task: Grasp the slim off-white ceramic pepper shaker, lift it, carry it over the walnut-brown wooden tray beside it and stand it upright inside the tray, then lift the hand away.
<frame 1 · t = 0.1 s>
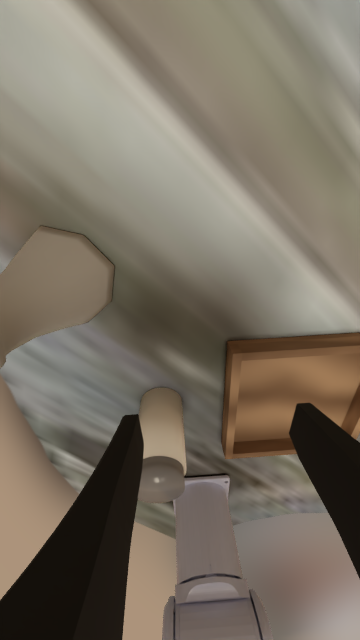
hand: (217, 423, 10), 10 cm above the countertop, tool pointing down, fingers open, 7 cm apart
tray: (291, 394, 23), on the countertop
pepper shaker: (161, 403, 23), on the countertop
flask: (69, 277, 17), on the countertop
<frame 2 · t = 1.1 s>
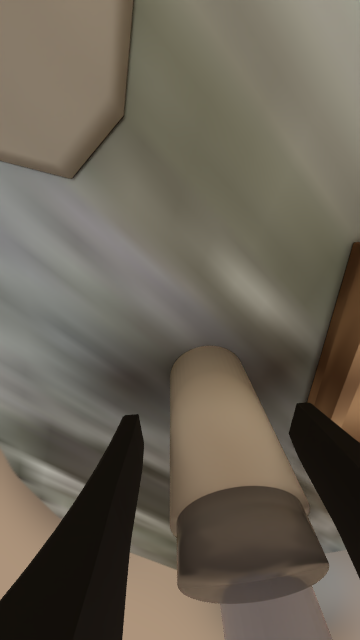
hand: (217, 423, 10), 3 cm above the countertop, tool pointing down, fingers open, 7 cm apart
pepper shaker: (206, 376, 13), on the countertop
flask: (22, 43, 7), on the countertop
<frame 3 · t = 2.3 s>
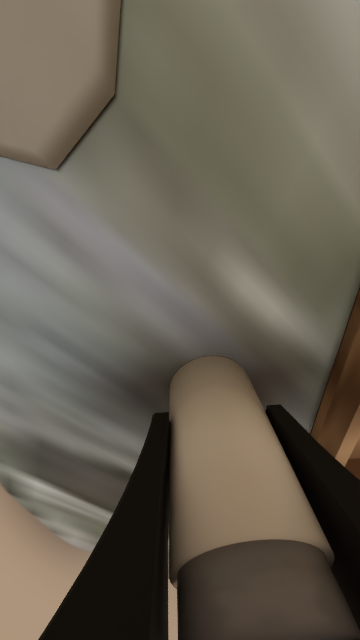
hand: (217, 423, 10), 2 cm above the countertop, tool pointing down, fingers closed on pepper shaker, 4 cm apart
pepper shaker: (209, 388, 12), on the countertop, touching gripper
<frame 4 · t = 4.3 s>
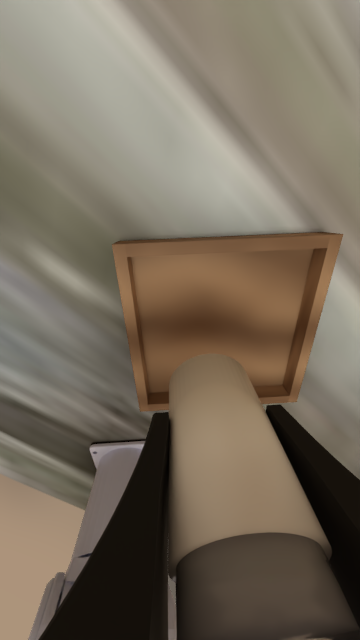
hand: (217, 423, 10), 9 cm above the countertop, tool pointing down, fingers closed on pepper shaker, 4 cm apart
tray: (217, 327, 18), on the countertop
pepper shaker: (208, 386, 12), point 7 cm above the countertop, touching gripper
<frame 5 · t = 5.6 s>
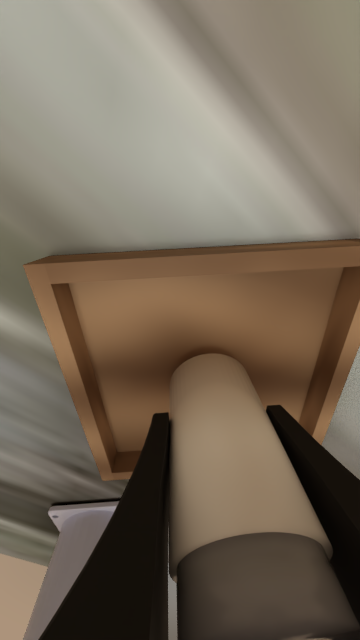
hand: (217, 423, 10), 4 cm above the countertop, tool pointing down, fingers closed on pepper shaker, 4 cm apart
tray: (205, 370, 13), on the countertop
pepper shaker: (208, 386, 12), point 1 cm above the countertop, touching gripper
when the fingers open (4 cm above the countertop, at t = 6.4 s): pepper shaker stays where it is, resting on tray.
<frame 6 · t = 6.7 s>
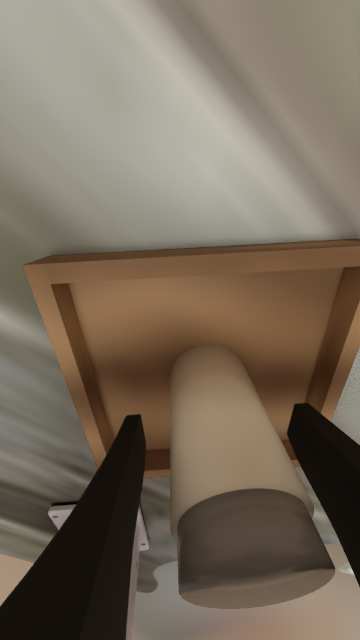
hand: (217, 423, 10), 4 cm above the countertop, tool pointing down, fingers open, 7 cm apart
tray: (205, 370, 13), on the countertop
pepper shaker: (206, 375, 13), point 1 cm above the countertop, touching tray
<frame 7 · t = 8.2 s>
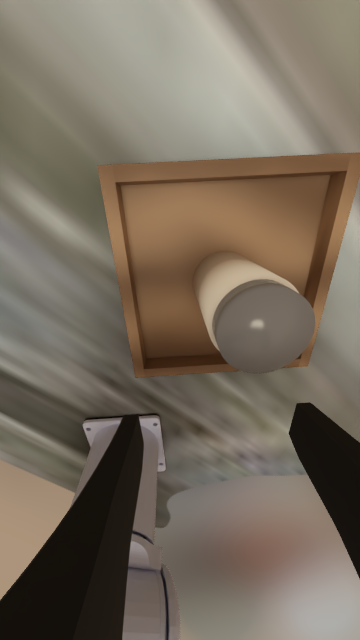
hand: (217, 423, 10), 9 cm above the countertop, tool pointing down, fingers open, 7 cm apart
tray: (220, 280, 17), on the countertop
pepper shaker: (222, 281, 16), point 1 cm above the countertop, touching tray
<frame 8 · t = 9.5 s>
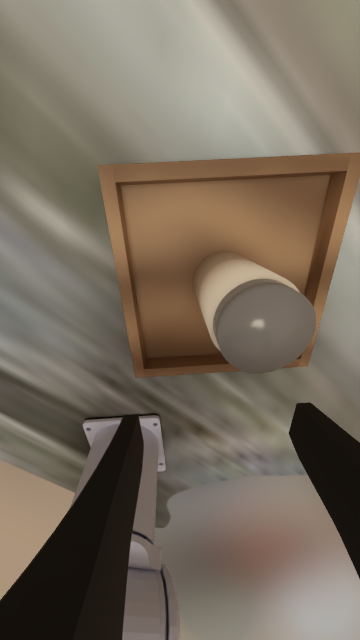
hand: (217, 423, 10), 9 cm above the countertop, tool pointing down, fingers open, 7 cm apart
tray: (220, 280, 17), on the countertop
pepper shaker: (222, 281, 16), point 1 cm above the countertop, touching tray
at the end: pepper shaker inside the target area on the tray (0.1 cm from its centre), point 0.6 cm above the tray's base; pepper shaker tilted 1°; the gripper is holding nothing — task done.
